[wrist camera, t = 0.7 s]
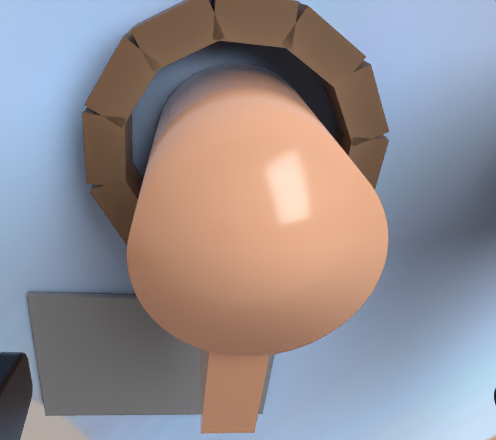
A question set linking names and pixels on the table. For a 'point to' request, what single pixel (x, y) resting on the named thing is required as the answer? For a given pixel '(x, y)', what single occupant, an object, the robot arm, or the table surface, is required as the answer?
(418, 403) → the table surface
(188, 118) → the peach rounded piece
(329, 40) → the collar
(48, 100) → the table surface
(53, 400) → the mat
